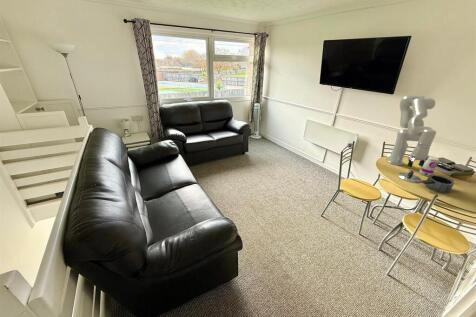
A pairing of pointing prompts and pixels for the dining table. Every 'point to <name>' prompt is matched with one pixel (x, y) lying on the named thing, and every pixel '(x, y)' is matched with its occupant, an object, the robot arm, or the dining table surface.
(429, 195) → the dining table surface
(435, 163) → the supplement can
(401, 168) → the dining table surface
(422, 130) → the robot arm
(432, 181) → the pot
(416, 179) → the lid
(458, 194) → the dining table surface
